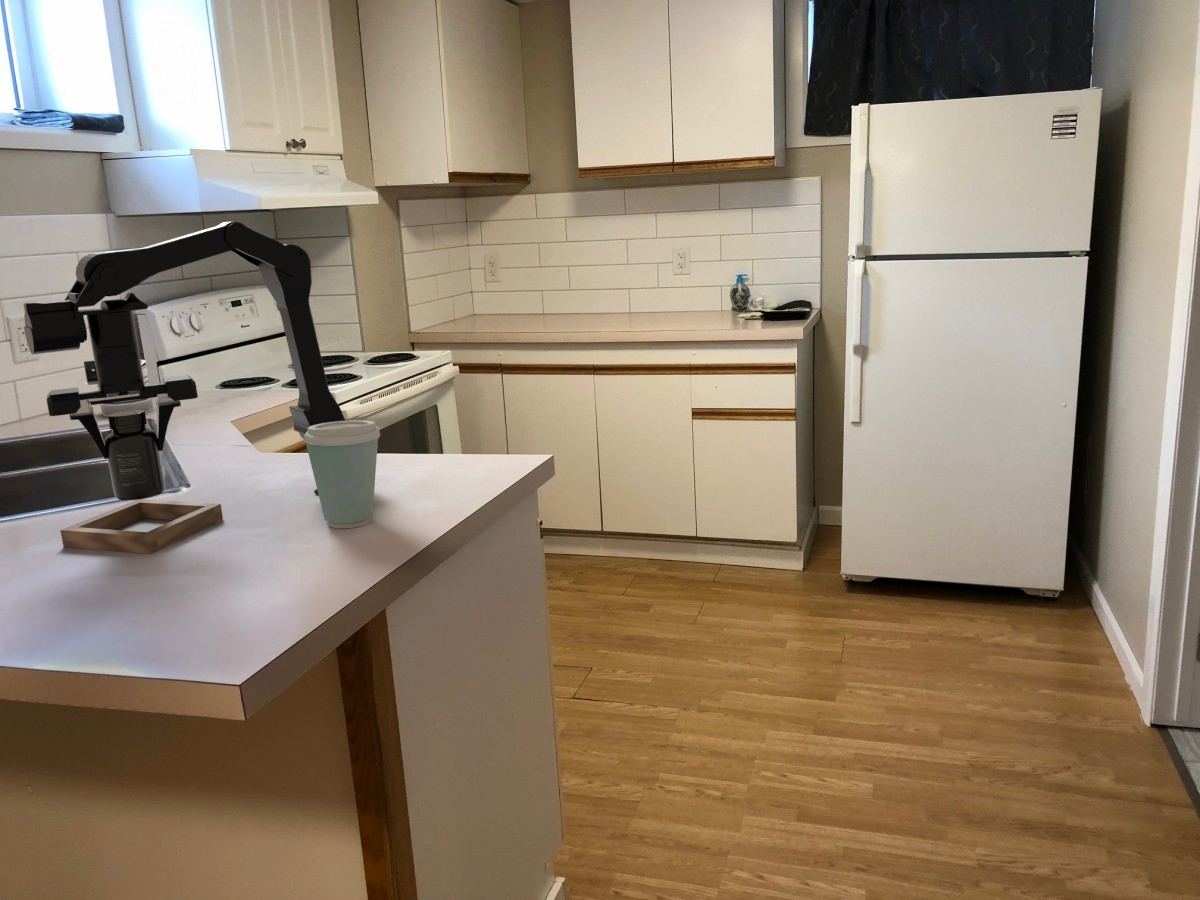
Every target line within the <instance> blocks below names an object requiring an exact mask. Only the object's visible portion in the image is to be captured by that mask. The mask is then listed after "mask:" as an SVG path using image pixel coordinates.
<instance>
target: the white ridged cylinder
mask: <svg viewBox="0 0 1200 900" xmlns="http://www.w3.org/2000/svg"><path fill="white" fill-rule="evenodd" d="M140 360H141V366H142V372H143V378H144V384H145V385H150V381H149V380H150V379H149V374H148V366H147V364H145V363H146V362H147V360H145V359H141V358H140ZM96 386H97V391H100V389H99V385H98V384H96ZM132 391H133V390H132ZM115 393H116V392H115ZM152 399H153V398H145V399H137V400H129V401H121V402H113V403H104V404H99V406H100V410H101V416H102V415H103V416H104V417H106V418H108V415H110V414H113V413H117V412H123V411H131V410H143V411H145V414H146V413H149V412H150V411H153V410H154V406H153V400H152Z"/></svg>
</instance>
